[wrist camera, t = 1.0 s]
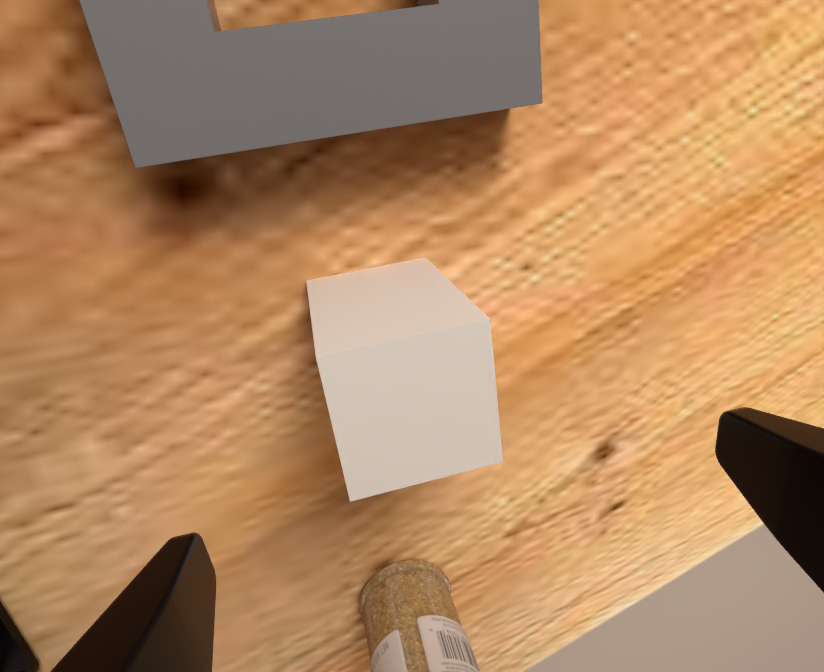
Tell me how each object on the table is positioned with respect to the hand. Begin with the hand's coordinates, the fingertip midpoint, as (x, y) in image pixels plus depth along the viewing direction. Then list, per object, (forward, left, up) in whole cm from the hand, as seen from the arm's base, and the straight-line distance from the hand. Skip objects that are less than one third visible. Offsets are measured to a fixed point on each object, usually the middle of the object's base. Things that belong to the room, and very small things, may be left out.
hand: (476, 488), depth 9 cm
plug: (-2, 0, -12) cm, 12 cm away
